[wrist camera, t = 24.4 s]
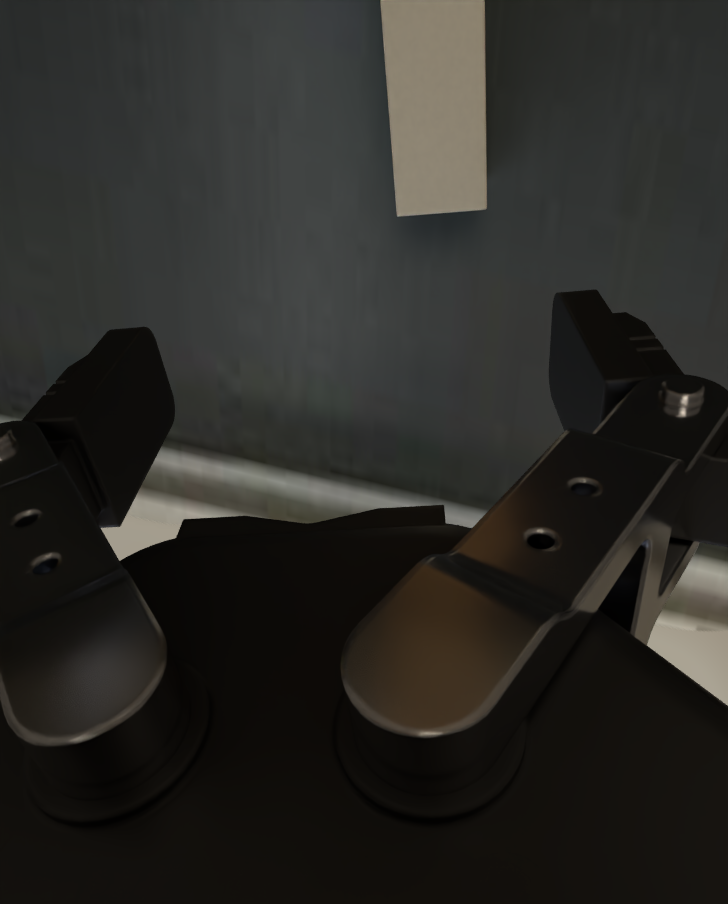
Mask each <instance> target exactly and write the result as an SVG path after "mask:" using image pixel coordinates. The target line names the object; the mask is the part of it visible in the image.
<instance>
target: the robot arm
mask: <svg viewBox="0 0 728 904" xmlns="http://www.w3.org/2000/svg"><path fill="white" fill-rule="evenodd" d="M549 384H550V392H551V397H552V400H553V403H554V405H555V408H556V410H557V413H558V416H559V418H560V421H561V424H562V426H563V429H564V432H563V433H562V434H561V435H560V436H559V438H558V439H557V440H556V441H555V442H554V443H553V444H552V445H551V446H550V447H549V448H548V449H547V450H546V451H545V452H544V453H543V454H542V455H541V456H540V458H539V459H538V460H537V461H536V462H535V463H534V464H533V465H532V466H531V467H530V468H529V469H528V470H527V471H526V472H525V473H524V474H523V475H522V476H521V477H520V479H519V480H518V481H517V482H516V483H515V484H514V485H513V486H512V487H511V488H510V489H509V490H508V491H507V492H506V493H505V494H504V495H503V496H502V497H501V499H500V500H499V501H498V502H497V503H496V504H495V505H494V506H493V507H492V508H491V509H490V510H489V511H488V512H487V513H486V514H485V515H484V516H483V517H482V518H481V520H480V521H479V522H478V523H477V524H476V525H475V526H474V527H473V528H468V527H463V526H459V525H453V524H446V523H445V512H444V505H433V506H415V507H397V508H379V509H374V510H370V511H365V512H361V513H356V514H352V515H348V516H343V517H339V518H334V519H330V520H326V521H321V522H317V523H309V524H305V523H296V522H288V521H281V520H273V519H265V518H258V517H250V516H236V517H218V518H200V519H184V520H183V522H182V525H181V527H180V530H179V532H178V535H177V537H176V538H175V539H171V540H167V541H164V542H161V543H158V544H155V545H152V546H150V547H147V548H145V549H142V550H140V551H138V552H136V553H134V554H132V555H130V556H128V557H126V558H124V559H122V560H121V561H119V560H118V558H117V556H116V554H115V553H114V551H113V549H112V547H111V546H110V544H109V542H108V540H107V539H106V537H105V535H104V533H103V532H102V530H101V528H104V527H120V526H121V524H122V522H123V520H124V518H125V516H126V514H127V512H128V510H129V508H130V506H131V504H132V502H133V501H134V499H135V497H136V495H137V493H138V491H139V489H140V487H141V485H142V483H143V481H144V479H145V477H146V475H147V473H148V471H149V469H150V467H151V466H152V464H153V462H154V460H155V458H156V456H157V454H158V452H159V450H160V448H161V446H162V444H163V442H164V440H165V438H166V436H167V434H168V432H169V431H170V429H171V427H172V425H173V422H174V417H175V404H174V398H173V394H172V390H171V387H170V384H169V381H168V378H167V374H166V371H165V368H164V365H163V362H162V358H161V355H160V352H159V349H158V346H157V342H156V340H155V337H154V335H153V333H152V331H151V330H150V329H149V328H147V327H137V328H126V329H114V330H109V331H108V332H107V333H106V334H105V335H104V336H103V338H102V339H101V340H100V341H99V342H98V343H97V345H96V346H95V347H94V348H93V349H92V351H91V352H90V353H89V354H88V355H87V356H85V357H84V358H82V359H81V360H79V361H77V362H76V363H74V364H73V365H71V366H70V367H68V368H67V369H66V370H65V371H64V372H63V373H62V375H61V376H60V377H59V378H58V379H57V380H56V384H53V385H52V386H51V387H50V388H49V390H48V391H47V392H46V395H43V397H42V398H41V399H40V400H39V401H38V402H37V403H36V405H35V406H34V407H33V408H32V409H31V410H30V411H29V413H28V414H27V415H26V416H25V417H24V418H23V420H22V421H11V422H5V423H1V424H0V904H728V706H727V705H726V704H725V703H723V702H722V701H721V700H719V699H718V698H716V697H715V696H714V695H712V694H711V693H710V692H708V691H707V690H706V689H704V688H703V687H702V686H700V685H699V684H698V683H696V682H695V681H694V680H692V679H691V678H690V677H688V676H687V675H686V674H684V673H683V672H681V671H680V670H679V669H678V668H676V667H675V666H674V665H672V664H671V663H669V662H668V661H667V660H665V659H664V658H663V657H661V656H660V655H659V654H657V653H656V652H655V651H653V650H652V649H651V648H649V647H648V646H647V643H648V640H649V637H650V634H651V631H652V629H653V626H654V624H655V622H656V620H657V618H658V616H659V614H660V612H661V611H662V609H663V607H664V605H665V604H666V602H667V600H668V598H669V597H670V595H671V593H672V591H673V590H674V588H675V586H676V584H677V583H678V581H679V579H680V578H681V576H682V574H683V572H684V571H685V569H686V567H687V565H688V564H689V562H690V560H691V558H692V557H693V555H694V553H695V551H696V550H697V547H698V545H699V542H701V543H707V544H713V545H719V546H725V547H728V391H727V390H726V389H725V388H724V387H722V386H721V385H719V384H717V383H715V382H713V381H710V380H708V379H705V378H701V377H697V376H692V375H685V374H683V372H682V371H681V370H680V368H679V367H678V366H677V364H676V363H675V362H674V360H673V359H672V358H671V356H670V355H669V353H668V352H667V351H666V350H664V349H663V345H662V344H661V343H660V341H659V340H658V339H655V335H654V333H653V332H652V331H651V329H650V328H649V327H648V325H647V324H646V323H645V322H643V321H641V320H639V319H637V318H636V317H634V316H632V315H630V314H628V313H626V312H624V313H612V312H611V310H610V309H609V307H608V306H607V304H606V303H605V301H604V300H603V298H602V297H601V295H600V294H599V292H598V291H597V290H585V291H573V292H561V293H556V294H555V296H554V301H553V309H552V326H551V342H550V359H549Z"/></svg>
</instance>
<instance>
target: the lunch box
mask: <svg viewBox="0 0 728 904" xmlns="http://www.w3.org/2000/svg"><path fill="white" fill-rule="evenodd" d="M380 4H381V17H382V30H383V43H384V55H385V68H386V81H387V94H388V107H389V120H390V133H391V146H392V159H393V171H394V184H395V197H396V210H397V216H412V215H424V214H437V213H449V212H462V211H474V210H485V209H487V163H486V64H485V0H380Z"/></svg>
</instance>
